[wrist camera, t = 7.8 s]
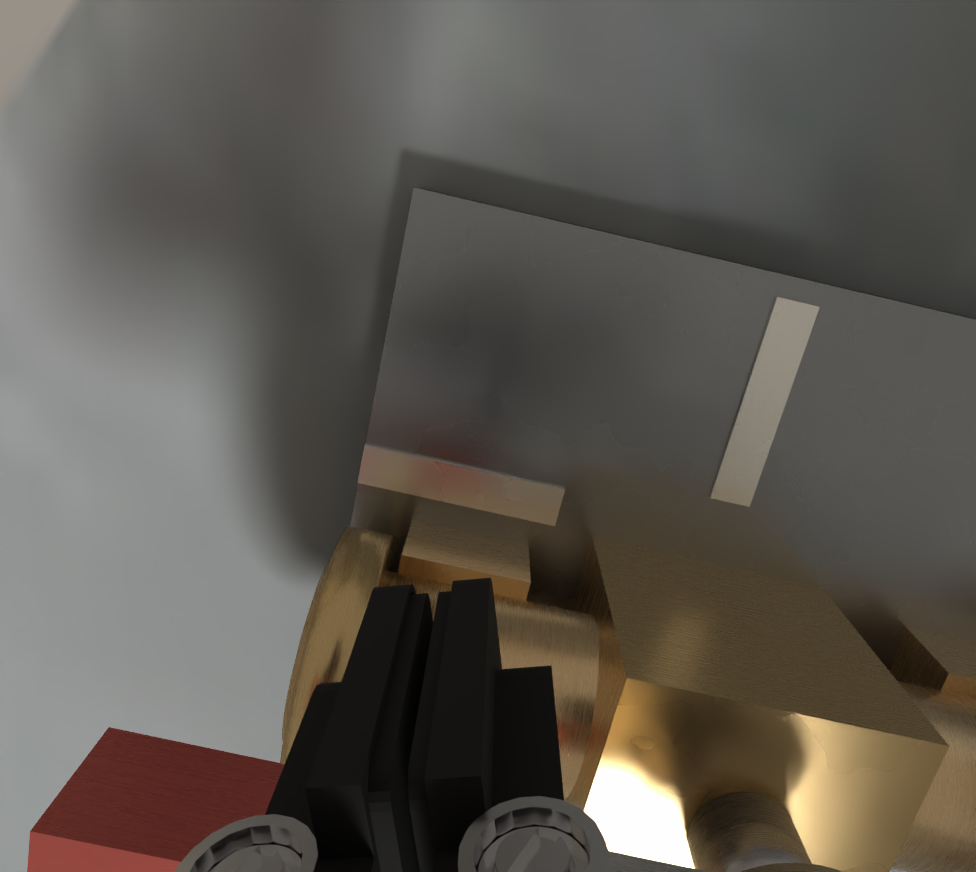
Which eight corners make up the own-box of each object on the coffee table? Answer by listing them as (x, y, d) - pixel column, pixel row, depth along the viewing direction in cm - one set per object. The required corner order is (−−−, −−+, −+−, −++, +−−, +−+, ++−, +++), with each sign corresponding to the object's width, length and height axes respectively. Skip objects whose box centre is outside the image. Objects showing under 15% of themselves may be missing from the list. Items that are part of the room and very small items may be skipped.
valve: (1223, 377, 19) (1866, 539, 10) (989, 829, 23) (1296, 1234, 14) (418, 188, 18) (329, 178, 9) (323, 690, 22) (196, 1024, 13)
